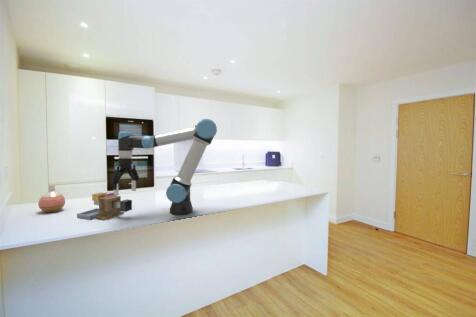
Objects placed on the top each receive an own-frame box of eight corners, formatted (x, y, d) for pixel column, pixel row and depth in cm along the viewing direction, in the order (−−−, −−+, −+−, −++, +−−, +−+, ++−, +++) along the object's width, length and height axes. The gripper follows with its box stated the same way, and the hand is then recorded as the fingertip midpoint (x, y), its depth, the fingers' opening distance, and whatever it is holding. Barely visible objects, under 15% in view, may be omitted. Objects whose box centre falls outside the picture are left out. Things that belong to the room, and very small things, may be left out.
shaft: (131, 209, 139) (131, 199, 139) (125, 211, 134) (125, 201, 134) (99, 205, 147) (99, 196, 147) (92, 207, 142) (92, 198, 142)
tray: (109, 213, 146) (109, 210, 146) (90, 220, 134) (90, 215, 134) (96, 212, 149) (96, 208, 149) (77, 217, 137) (77, 213, 137)
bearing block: (123, 213, 147) (123, 195, 146) (104, 220, 133) (104, 200, 133) (115, 212, 149) (115, 194, 149) (95, 219, 136) (95, 199, 135)
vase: (55, 214, 143) (54, 186, 142) (32, 214, 142) (31, 186, 141) (70, 208, 157) (69, 183, 156) (49, 208, 156) (48, 183, 155)
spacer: (106, 199, 146) (106, 193, 145) (98, 201, 140) (98, 195, 140) (100, 198, 147) (100, 192, 147) (92, 200, 141) (92, 194, 141)
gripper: (135, 156, 148) (135, 188, 150) (102, 158, 125) (102, 196, 126) (145, 157, 146) (144, 189, 147) (112, 159, 122) (113, 197, 124)
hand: (125, 192), depth 137 cm, fingers open, 13 cm apart
